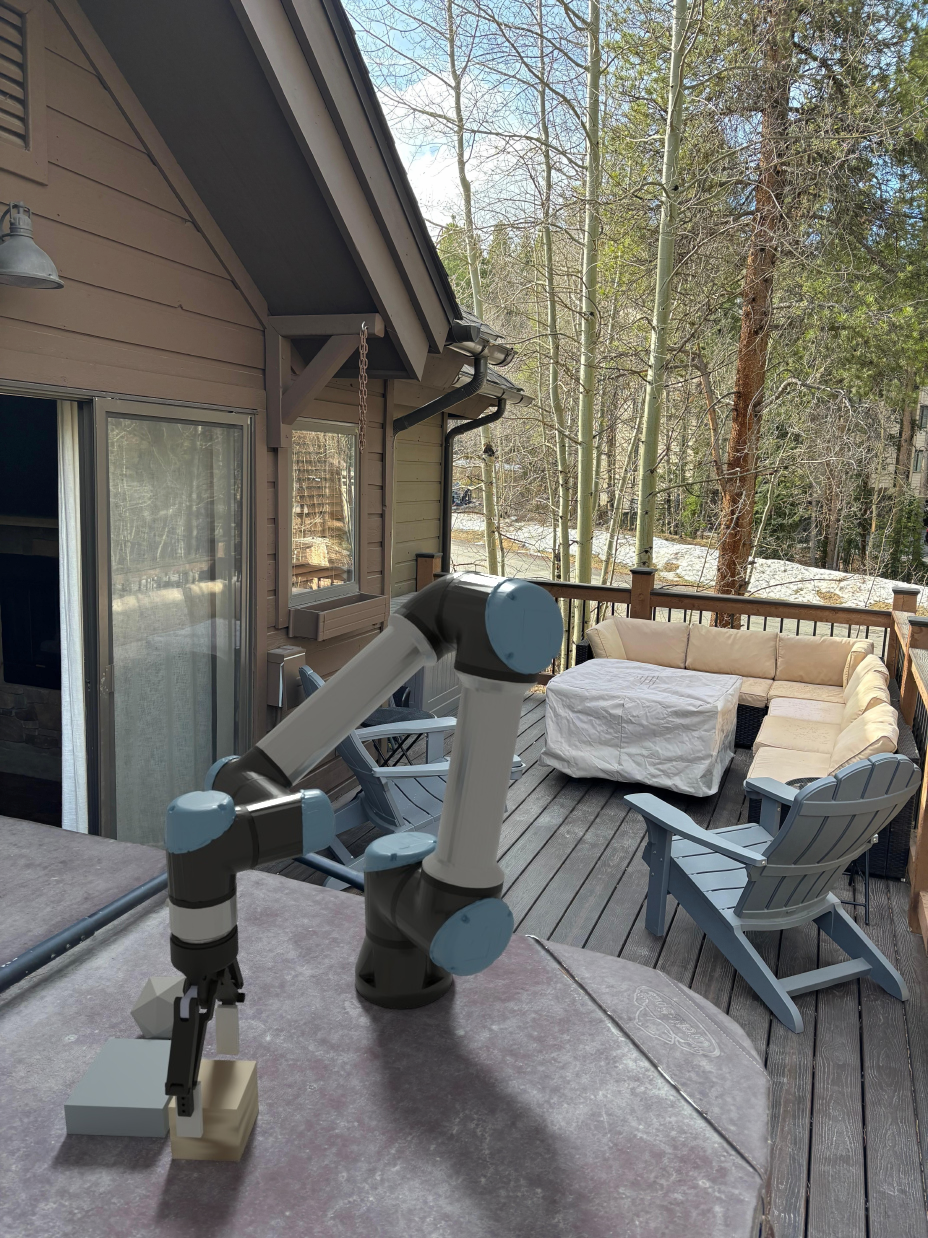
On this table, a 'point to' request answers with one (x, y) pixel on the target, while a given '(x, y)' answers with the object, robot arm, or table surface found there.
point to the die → (157, 1006)
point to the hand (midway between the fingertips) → (210, 1091)
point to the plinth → (123, 1091)
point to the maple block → (220, 1112)
